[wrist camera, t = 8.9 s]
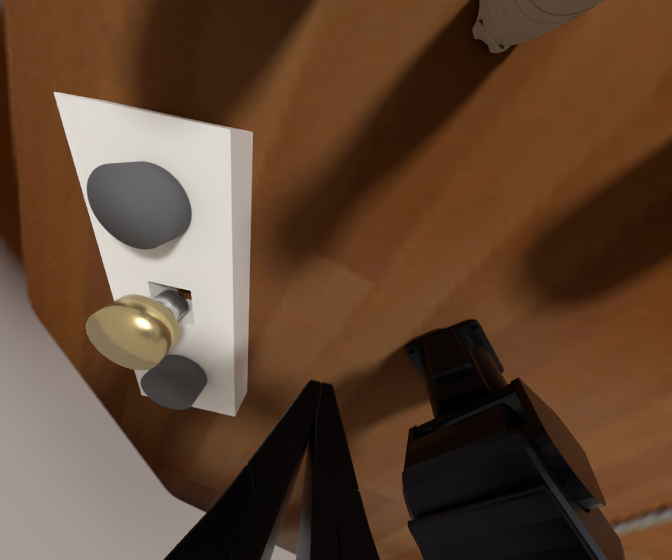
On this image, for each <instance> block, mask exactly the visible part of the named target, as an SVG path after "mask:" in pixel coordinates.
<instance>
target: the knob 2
mask: <svg viewBox="0 0 672 560" xmlns="http://www.w3.org/2000/svg"><path fill="white" fill-rule="evenodd" d="M206 384H207V376H206V374H205V372H204V371H203V369H202V368H201V367H200V366H199V364H196V363H195V362H194V361H192V360H190V359H188V358H186V357H183V356H180V355H166V356H165V357H164V358H163V359H162V360H161V361H160V362H159V363H158V364H157V365H156V366H155V367H154V368H151V369H150V370H149V371H148V372H147V373H146V374H145V375H144V376H143V377H142V378H141V387H142V389H143V391H144V392H145V394H146V395H147V396H148V397H149V398H150V399H152V400H153V401H154V402H156V403H158V404H160V405H162V406H164V407H167V408H170V409H175V410H184V409H188V408H190V407H191V406H192V405H193V404H194V402H195V401H196V399H197V398H198V396H199V395H200V393H201V392H202V390H203V389H204V387H205V386H206Z"/></svg>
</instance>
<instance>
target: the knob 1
mask: <svg viewBox="0 0 672 560" xmlns="http://www.w3.org/2000/svg"><path fill="white" fill-rule="evenodd" d="M87 197H88V201H89V204H90V207H91V209H92V211H93V213H94V215H95V217H96V218H97V220H98V221H99V223H100V224H101V225H102V226H103V227H104V228H105V229H106V230H107V232H109V233H110V234H111V235H112V236H113V237H115V238H116V239H117V240H119V241H120V242H122V243H124V244H126V245H128V246H131V247H134V248H137V249H153V248H156V247H158V246H160V245H163V244H165V243H167V242H169V241H171V240H173V239H175V238H177V237H179V236H181V235H183V234H184V233H185V232H186V231H187V229H188V228H189V226H190V223H191V218H192V210H191V205H190V201H189V198H188V196H187V194H186V192H185V190H184V188H183V187H182V185H181V184H180V183H179V180H177V179H176V178H175V177H174V176H173V175H172V174H171V173H169V172H168V171H167V170H165V169H164V168H162V167H160V166H158V165H156V164H154V163H150V162H145V161H137V162H123V163H108V164H103V165H100V166H98V167H97V168H95V169H94V170H93V171H92V172H91V174H90V176H89V178H88V181H87Z"/></svg>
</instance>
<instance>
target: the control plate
mask: <svg viewBox="0 0 672 560" xmlns="http://www.w3.org/2000/svg"><path fill="white" fill-rule="evenodd" d="M54 95H55V98H56V102H57V105H58V109H59V112H60V115H61V119H62V122H63V126H64V129H65V133H66V136H67V140H68V143H69V146H70V150H71V153H72V157H73V160H74V164H75V167H76V171H77V174H78V177H79V181H80V184H81V188H82V191H83V195H84V198H85V202H86V205H87V208H88V212H89V215H90V219H91V222H92V226H93V229H94V233H95V236H96V239H97V243H98V246H99V250H100V253H101V257H102V260H103V264H104V267H105V270H106V274H107V277H108V281H109V284H110V288H111V291H112V295H113V298H114V301H116V300H117V299H119V298H121V297H123V296H125V295H131V294H135V295H142V296H145V297H148V298H151V299H152V298H154V297H155V296H156V295H158V294H159V293H161V292H162V291H164V290H173V291H176V292H178V288H181V289H185V290H190V291H191V296H192V300H189V299H186V301H187V303H188V311H187V312H186V313H185V314H184V315H183V316H182V317H181V318H180V319H179V320H178V321H177V322H178V324H179V326H180V330H181V338H180V341H179V342H178V344H177V345H176V346H175V347H174V348H173V349H172V350H171V351H170V352H169V353H168V354H167V355H180V356H183V357H186V358H188V359H190V360H192V361H194V362H195V363H196V364H199V366H200V367H201V368H202V369H203V371H204V372H205V374H206V376H207V384H206V386H205V387H204V389H203V390H202V392H201V393H200V395H199V396H198V398H197V399H196V401H195V402H194V404H193V405H192V406H191V407H195V408H200V409H204V410H208V411H213V412H217V413H221V414H226V415H230V416H234V417H235V415H236V413H237V411H238V409H239V407H240V405H241V403H242V401H243V399H244V397H245V395H246V393H247V378H248V332H249V285H250V239H251V193H252V147H253V132H250V131H245V130H241V129H236V128H231V127H226V126H222V125H217V124H212V123H208V122H203V121H198V120H194V119H189V118H184V117H180V116H175V115H170V114H165V113H161V112H156V111H151V110H147V109H142V108H137V107H133V106H128V105H123V104H119V103H114V102H109V101H104V100H99V99H93V98H87V97H81V96H75V95H69V94H64V93H58V92H54ZM137 161H145V162H150V163H154V164H156V165H158V166H160V167H162V168H164V169H165V170H167V171H168V172H169V173H171V174H172V175H173V176H174V177H175V178H176V179H177V180H179V183H180V184H181V185H182V187H183V188H184V190H185V192H186V194H187V196H188V198H189V201H190V205H191V210H192V218H191V223H190V226H189V228H188V229H187V231H186V232H185V233H184V234H183V235H181V236H179V237H177V238H175V239H173V240H171V241H169V242H167V243H165V244H163V245H160V246H158V247H156V248H153V249H137V248H134V247H131V246H128V245H126V244H124V243H122V242H120V241H119V240H117V239H116V238H115V237H113V236H112V235H111V234H110V233H109V232H107V230H106V229H105V228H104V227H103V226H102V225H101V224H100V223H99V221H98V220H97V218H96V217H95V215H94V213H93V211H92V209H91V207H90V204H89V201H88V197H87V181H88V178H89V176H90V174H91V172H92V171H93V170H94V169H95V168H97V167H98V166H100V165H103V164H108V163H123V162H137ZM149 370H150V369H148V370H135V374H136V377H137V381H138V384H139V388H140V391H141V394H142V395H143V396H147V395H146V394H145V392H144V391H143V389H142V387H141V378H142V377H143V376H144V375H145V374H146V373H147V372H148V371H149Z"/></svg>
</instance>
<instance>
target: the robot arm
mask: <svg viewBox="0 0 672 560" xmlns="http://www.w3.org/2000/svg"><path fill="white" fill-rule="evenodd" d="M472 325H475V326H473V327H471V326H472ZM410 349H413V350H410ZM405 351H406V354H407V355H408V356H409V358H410V359H411V361H412V362H413V364H414V365H415V366H416V368H417V369H418V371H419V372H420V373H421V375H422V376H423V378H424V379H425V382H426V386H427V391H428V395H429V399H430V403H431V407H432V412H433V416H434V419H433V420H430V421H428V422H426V423H424V424H422V425H420V426H418V427H417V426H414V427H412V428H410V429H409V435H408V442H407V450H406V457H405V464H404V471H403V473H402V482H403V494H404V498H405V503H406V506H407V509H408V512H409V514H410V517H411V519H412V520H410V521H408V528H409V530H410V532H411V534H412V536H413V537H414V539H415V541H416V543H417V545H418V547H419V549H420V551H421V554H422V556H423V558H424V560H625V555H624V551H623V547H622V544H621V541H620V539H619V538H618V536H617V534H616V533H615V531H614V530H613V528H612V527H611V525H610V524H609V523H608V521H607V520H606V518H605V517H604V515H603V514H602V512H601V511H600V510H599V507H603V506H606V503H605V500H604V497H603V495H602V492H601V490H600V488H599V485H598V483H597V480H596V478H595V476H594V473H593V471H592V468H591V466H590V463H589V461H588V459H587V456H586V454H585V452H584V450H583V449H582V447H581V446H580V445H579V443H578V442H577V441H576V439H575V438H574V437H573V435H572V434H571V433H570V431H569V430H568V429H567V427H566V426H565V425H564V423H563V422H562V421H561V419H560V418H559V417H558V416H557V414H556V413H555V412H554V411H553V410H552V409H551V408H550V407H548V406H547V405H546V404H545V403H544V402H543V401H542V400H541V399H540V398H539V397H538V396H537V395H536V394H535V393H534V392H533V391H532V390H531V389H530V388H529V387H528V386H527V385H526V384H525V383H524V382H523V381H522V380H521V379H520V378H517V379H515V380H513V381H511V383H510V384H507V382H506V381H505V379H504V377H503V376H502V374H501V373H503V371H504V369H503V367H502V365H501V363H500V361H499V359H498V358H497V356H496V354H495V352H494V350H493V348H492V346H491V344H490V343H489V341H488V339H487V337H486V335H485V333H484V331H483V329H482V328H481V326H480V324H479V322H478V321H477V320H473V319H472V320H469V321H466V322H464V323H461V324H459V325H456V326H454V327H451V328H449V329H446V330H443V331H441V332H438V333H436V334H433V335H431V336H428V337H426V338H423V339H421V340H418V341H416V342H413V343H411V344H408V345H407V346H406V347H405ZM309 436H310V437H309ZM308 441H309V442H308ZM307 445H308V448H307ZM306 448H307V456H306V466H305V476H304V486H303V496H302V506H301V516H300V526H299V536H298V546H297V556H296V560H380V559H379V556H378V553H377V550H376V547H375V544H374V541H373V538H372V535H371V532H370V529H369V525H368V521H367V518H366V514H365V511H364V507H363V503H362V499H361V495H360V492H359V491H358V489H359V488H358V484H357V480H356V476H355V472H354V468H353V464H352V460H351V456H350V452H349V448H348V444H347V440H346V436H345V432H344V428H343V424H342V420H341V416H340V412H339V408H338V404H337V400H336V396H335V392H334V388H333V386H332V384H329V383H324V382H323V383H321V382H319V381H315V380H310V381H309V382H308V383H307V384H306V386H305V387H304V388H303V390H302V391H301V392H300V394H299V395H298V396H297V398H296V399H295V400H294V402H293V403H292V404H291V406H290V407H289V408H288V410H287V411H286V412H285V414H284V415H283V416H282V418H281V419H280V420H279V422H278V423H277V424H276V426H275V427H274V428H273V430H272V431H271V432H270V434H269V435H268V436H267V438H266V439H265V440H264V441H263V443H262V444H261V445H260V447H259V448H258V449H257V451H256V452H255V453H254V455H253V456H252V457H251V459H250V460H249V461H248V463H247V465H245V466H244V468H243V469H242V470H241V472H240V473H239V474H238V476H237V477H236V478H235V480H234V481H233V482H232V483H231V485H230V486H229V487H228V488H227V490H226V491H225V492H224V493H223V495H222V496H221V497H220V498H219V499H218V500H217V501H216V503H215V504H214V505H213V506H212V507H211V508H210V509H209V511H208V512H207V513H206V514H205V515H204V516H203V517H202V518H201V519H200V521H199V522H198V523H197V524H196V525H195V526H194V527H193V528H192V529H191V530H190V531H189V532H188V534H187V535H186V536H185V537H184V538H183V539H182V540H181V541H180V543H178V544H177V546H176V547H175V548H174V549H173V550H172V551H171V552H170V553H169V554H168V555H167V557H166V558H165V559H164V560H270V559H271V556H272V553H273V550H274V547H275V544H276V541H277V538H278V535H279V531H280V528H281V525H282V522H283V519H284V516H285V513H286V510H287V507H288V504H289V501H290V498H291V495H292V492H293V489H294V486H295V483H296V479H297V476H298V473H299V470H300V467H301V464H302V461H303V458H304V455H305V452H306Z"/></svg>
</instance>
